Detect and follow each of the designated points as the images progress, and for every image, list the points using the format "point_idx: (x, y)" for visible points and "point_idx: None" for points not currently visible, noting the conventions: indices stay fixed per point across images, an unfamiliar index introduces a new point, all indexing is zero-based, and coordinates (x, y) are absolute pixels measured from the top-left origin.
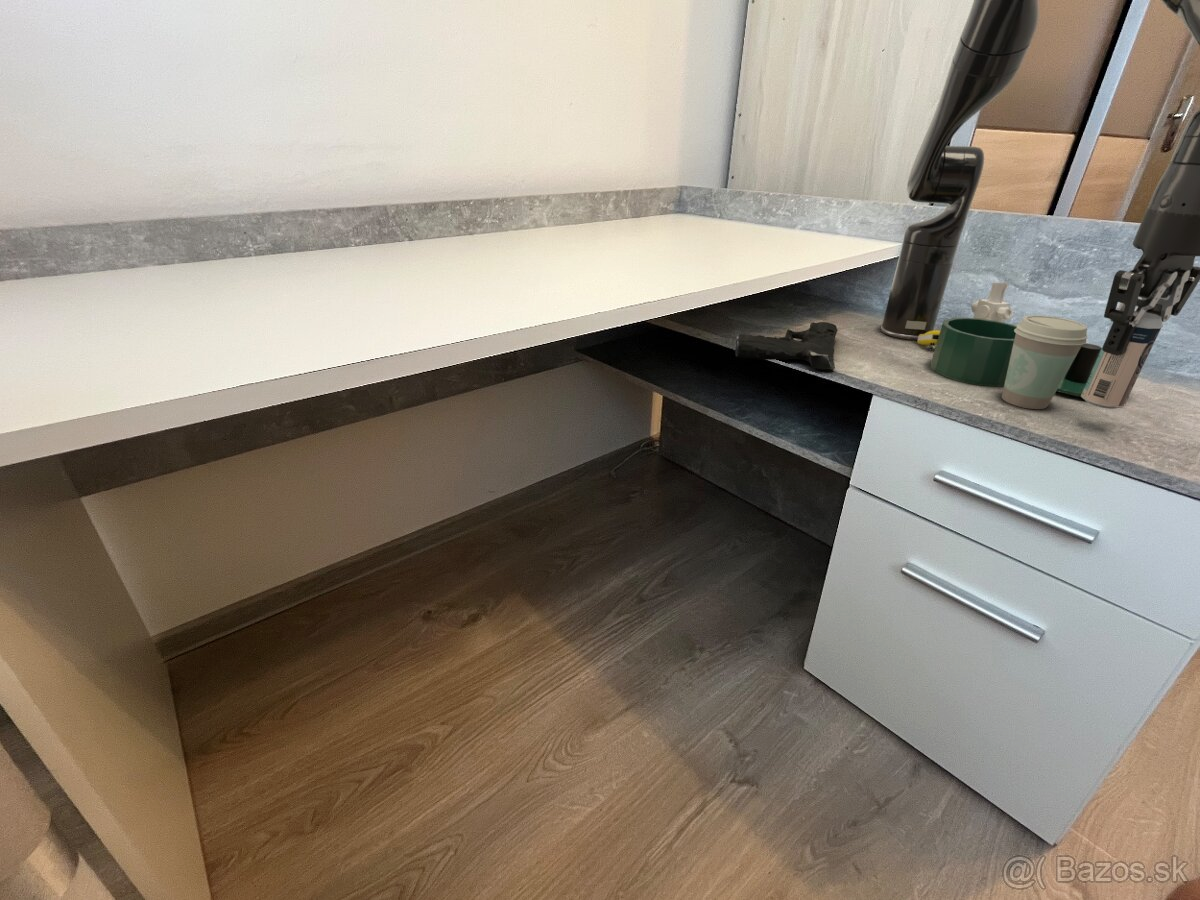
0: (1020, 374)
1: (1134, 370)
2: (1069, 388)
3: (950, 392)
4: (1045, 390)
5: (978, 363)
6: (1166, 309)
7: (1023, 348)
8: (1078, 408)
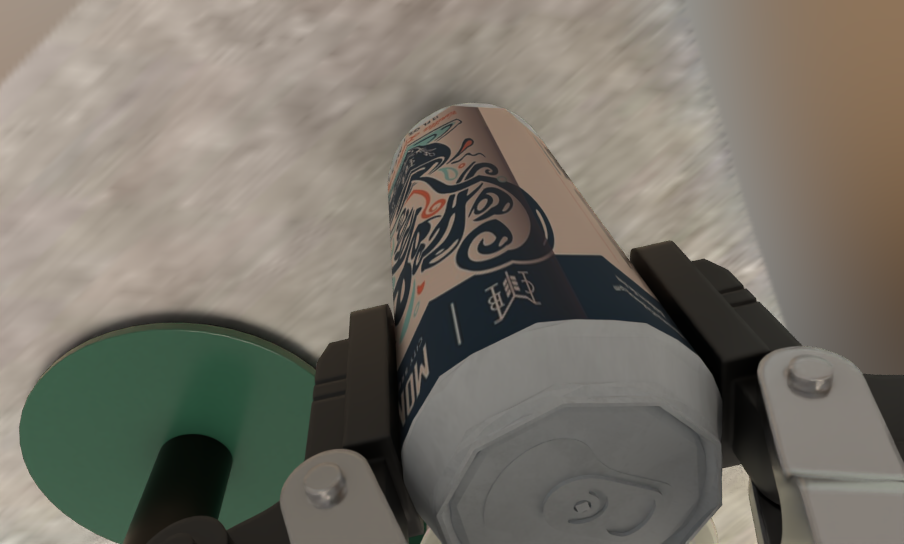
0: None
1: (514, 173)
2: (292, 396)
3: None
4: None
5: None
6: (403, 540)
7: None
8: (350, 283)
